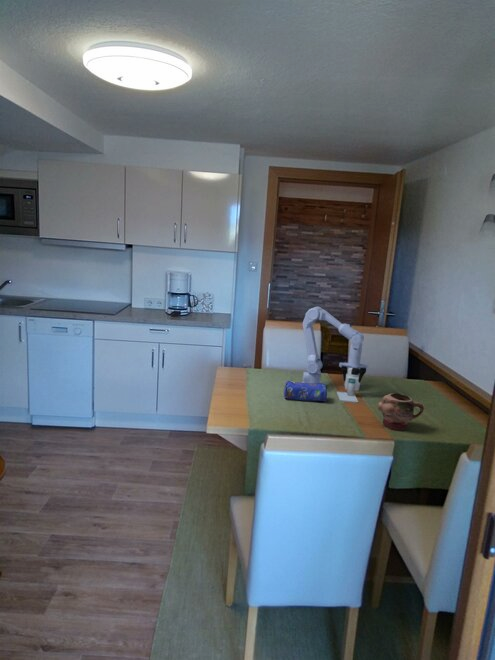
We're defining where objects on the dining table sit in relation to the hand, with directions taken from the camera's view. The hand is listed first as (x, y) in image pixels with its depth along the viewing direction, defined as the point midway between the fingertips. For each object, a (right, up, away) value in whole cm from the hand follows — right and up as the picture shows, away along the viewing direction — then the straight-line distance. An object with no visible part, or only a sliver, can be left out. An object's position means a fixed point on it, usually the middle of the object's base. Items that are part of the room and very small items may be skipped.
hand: (351, 381), depth 227 cm
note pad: (-3, -8, -1) cm, 9 cm away
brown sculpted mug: (+12, -16, -33) cm, 39 cm away
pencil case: (-26, -8, -8) cm, 28 cm away
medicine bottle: (+3, -6, +14) cm, 16 cm away
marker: (0, -7, +1) cm, 8 cm away
